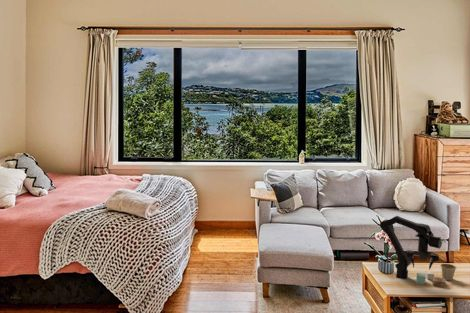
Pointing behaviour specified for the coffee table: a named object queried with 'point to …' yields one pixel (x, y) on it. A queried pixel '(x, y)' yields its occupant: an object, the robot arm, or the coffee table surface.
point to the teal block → (420, 278)
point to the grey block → (429, 275)
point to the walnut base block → (438, 281)
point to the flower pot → (448, 271)
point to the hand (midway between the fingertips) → (421, 268)
